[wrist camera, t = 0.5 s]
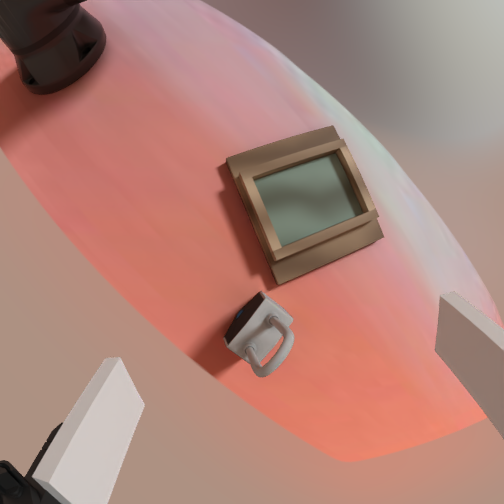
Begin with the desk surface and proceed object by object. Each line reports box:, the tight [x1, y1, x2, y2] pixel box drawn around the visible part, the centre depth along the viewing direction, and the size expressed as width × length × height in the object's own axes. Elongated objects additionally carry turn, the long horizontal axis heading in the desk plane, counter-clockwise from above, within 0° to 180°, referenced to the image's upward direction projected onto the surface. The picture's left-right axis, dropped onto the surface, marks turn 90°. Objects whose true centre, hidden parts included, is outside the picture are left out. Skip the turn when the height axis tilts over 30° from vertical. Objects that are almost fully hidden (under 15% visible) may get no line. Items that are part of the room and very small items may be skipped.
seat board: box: [226, 126, 384, 285], centre depth 33 cm, size 15×14×3 cm
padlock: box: [223, 291, 294, 377], centre depth 25 cm, size 7×4×15 cm, turn 142°
